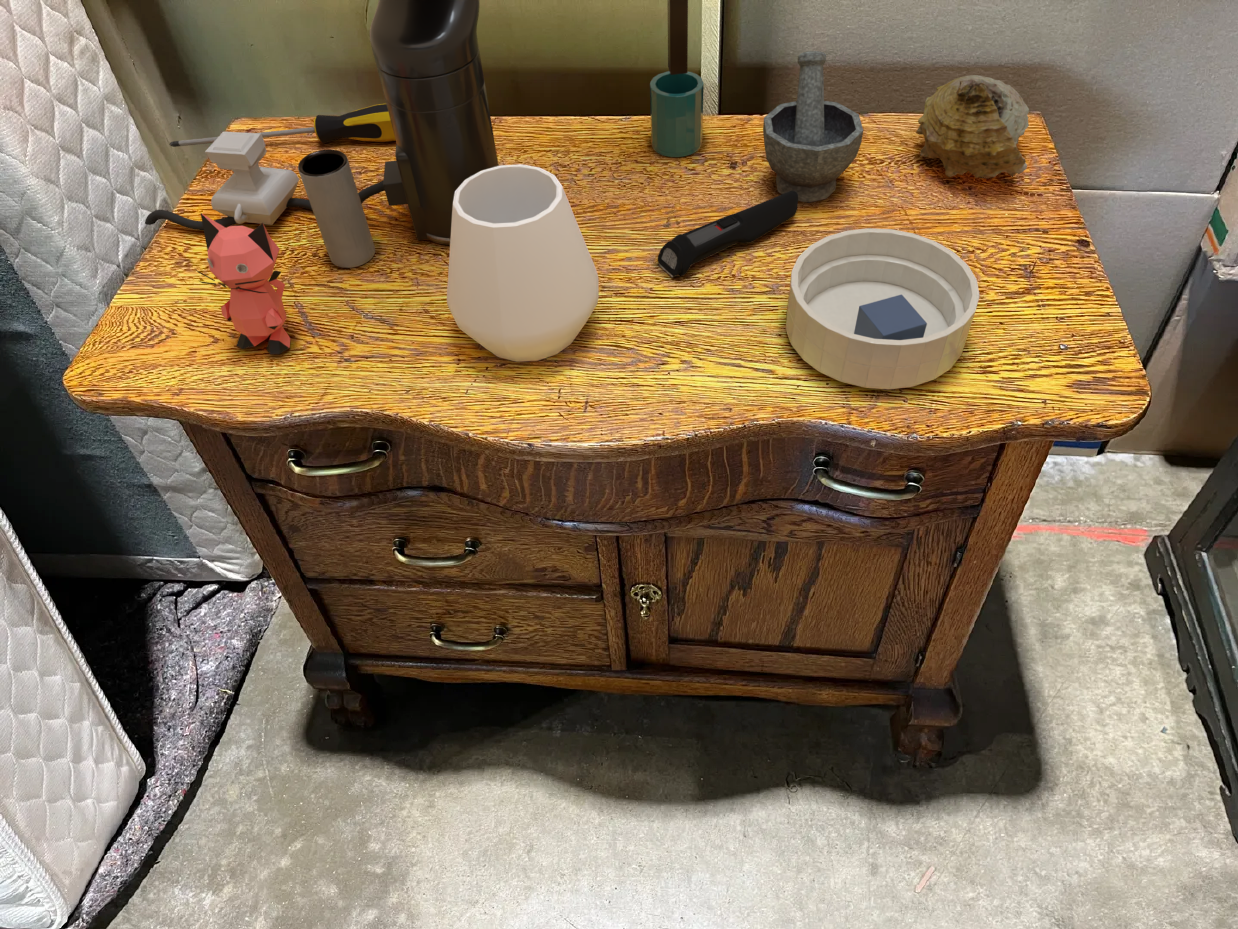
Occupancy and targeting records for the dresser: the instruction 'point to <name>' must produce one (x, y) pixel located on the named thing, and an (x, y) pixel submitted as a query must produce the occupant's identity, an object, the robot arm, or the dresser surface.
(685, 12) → the stick
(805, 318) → the bowl
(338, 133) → the screwdriver
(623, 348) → the dresser surface
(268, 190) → the stamp
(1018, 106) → the seashell
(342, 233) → the grey hollow cylinder
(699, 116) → the cup
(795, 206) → the electric trimmer
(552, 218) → the cup
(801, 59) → the mortar and pestle
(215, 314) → the dresser surface
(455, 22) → the robot arm
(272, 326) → the cat figurine
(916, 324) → the block
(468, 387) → the dresser surface
